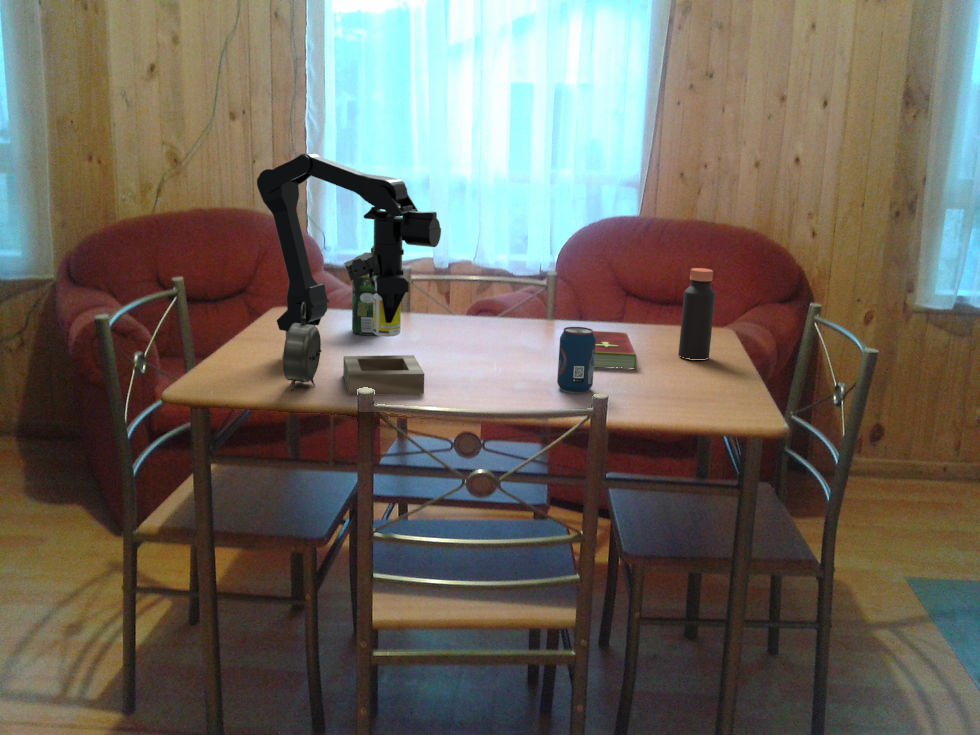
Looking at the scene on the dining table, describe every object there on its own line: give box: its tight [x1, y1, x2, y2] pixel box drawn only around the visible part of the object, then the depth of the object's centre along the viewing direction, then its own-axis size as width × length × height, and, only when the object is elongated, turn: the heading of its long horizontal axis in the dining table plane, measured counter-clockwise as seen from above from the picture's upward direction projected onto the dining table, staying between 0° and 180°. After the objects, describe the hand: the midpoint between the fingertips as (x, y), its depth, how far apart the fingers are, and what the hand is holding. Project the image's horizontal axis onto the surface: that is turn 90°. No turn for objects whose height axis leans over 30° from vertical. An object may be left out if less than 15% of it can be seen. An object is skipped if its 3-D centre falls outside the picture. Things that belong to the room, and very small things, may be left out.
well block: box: [343, 354, 425, 397], centre depth 196 cm, size 14×14×4 cm
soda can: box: [556, 326, 596, 394], centre depth 197 cm, size 7×7×12 cm
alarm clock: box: [282, 302, 322, 392], centre depth 191 cm, size 11×5×16 cm, turn 174°
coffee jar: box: [351, 252, 376, 336], centre depth 238 cm, size 10×8×19 cm
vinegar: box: [678, 267, 716, 359], centre depth 225 cm, size 7×7×20 cm
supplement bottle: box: [373, 293, 402, 338], centre depth 205 cm, size 6×6×10 cm
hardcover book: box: [593, 330, 638, 370], centre depth 225 cm, size 12×21×4 cm, turn 178°
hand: (386, 319), depth 205 cm, fingers closed on supplement bottle, 5 cm apart
